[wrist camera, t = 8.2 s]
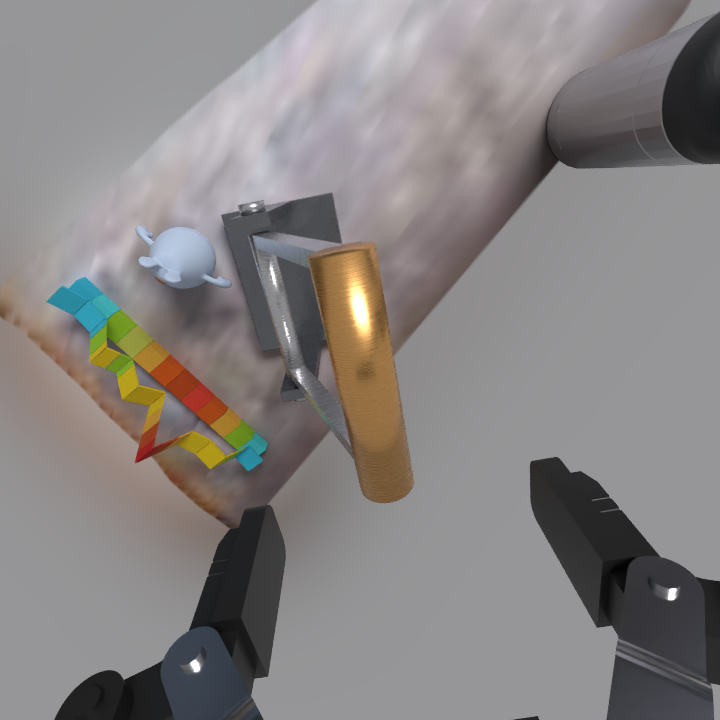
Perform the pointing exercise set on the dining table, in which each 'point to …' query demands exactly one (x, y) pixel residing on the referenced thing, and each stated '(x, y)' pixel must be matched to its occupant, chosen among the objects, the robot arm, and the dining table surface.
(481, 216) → the dining table surface
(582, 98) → the robot arm
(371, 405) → the lever
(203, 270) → the toy figure
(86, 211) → the dining table surface
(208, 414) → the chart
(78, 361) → the dining table surface
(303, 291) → the lever stand
